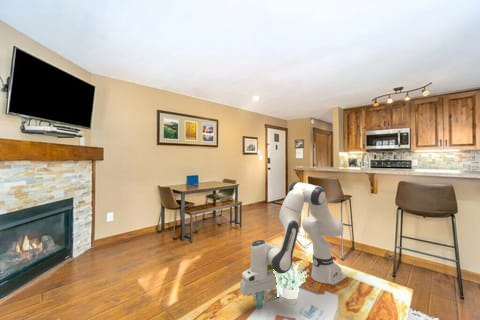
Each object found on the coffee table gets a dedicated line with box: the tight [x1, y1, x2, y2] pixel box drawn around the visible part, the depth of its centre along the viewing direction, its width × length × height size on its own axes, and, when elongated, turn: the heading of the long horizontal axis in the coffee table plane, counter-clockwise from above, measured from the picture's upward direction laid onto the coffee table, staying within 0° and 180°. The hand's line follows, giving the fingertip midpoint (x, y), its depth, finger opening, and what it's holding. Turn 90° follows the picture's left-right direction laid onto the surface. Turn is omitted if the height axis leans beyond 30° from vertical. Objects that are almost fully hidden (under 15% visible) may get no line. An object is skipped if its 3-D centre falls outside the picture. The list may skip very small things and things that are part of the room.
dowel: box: [255, 291, 263, 309], centre depth 116 cm, size 3×3×9 cm
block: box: [262, 287, 277, 302], centre depth 126 cm, size 9×9×5 cm
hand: (258, 299), depth 116 cm, fingers closed on dowel, 3 cm apart
